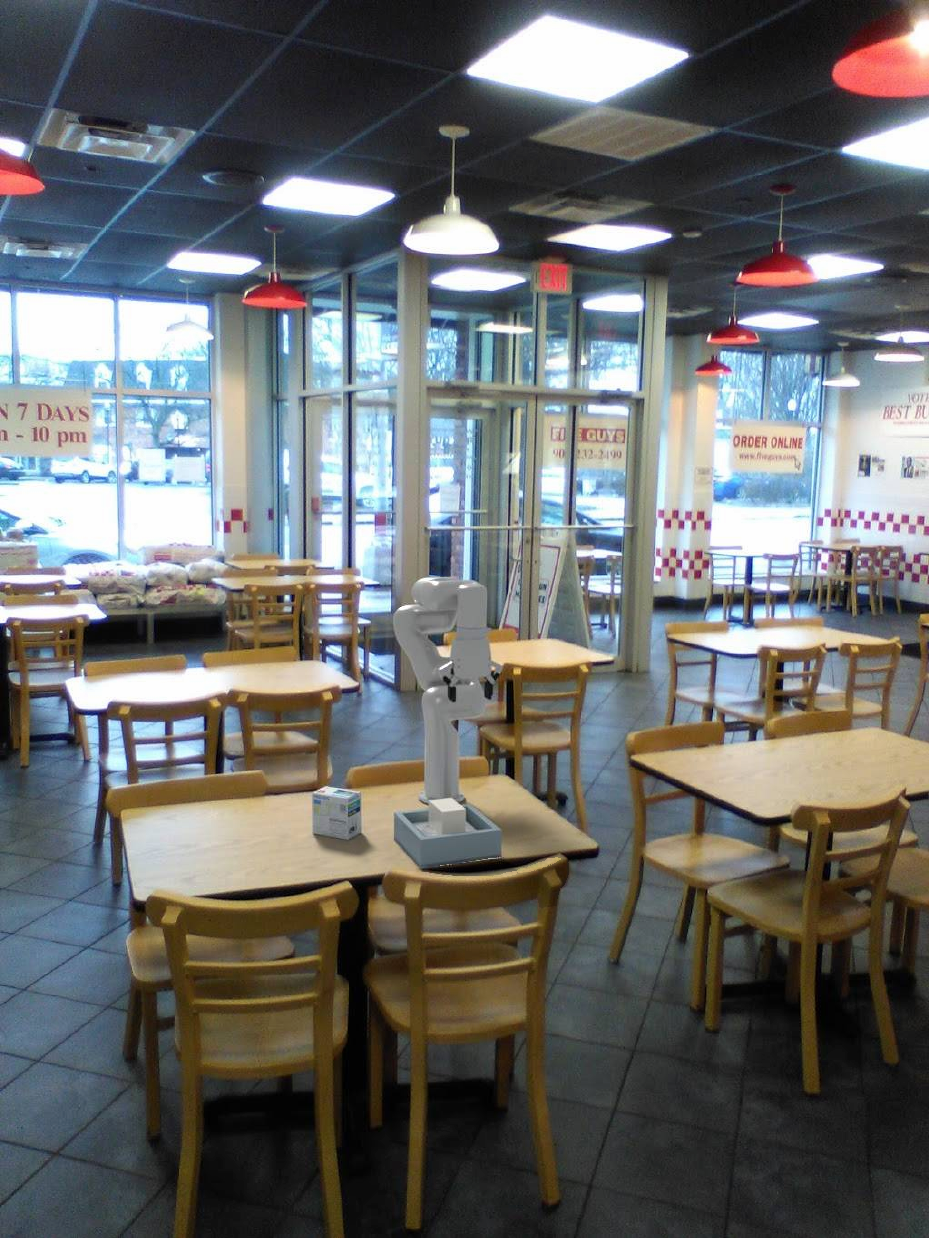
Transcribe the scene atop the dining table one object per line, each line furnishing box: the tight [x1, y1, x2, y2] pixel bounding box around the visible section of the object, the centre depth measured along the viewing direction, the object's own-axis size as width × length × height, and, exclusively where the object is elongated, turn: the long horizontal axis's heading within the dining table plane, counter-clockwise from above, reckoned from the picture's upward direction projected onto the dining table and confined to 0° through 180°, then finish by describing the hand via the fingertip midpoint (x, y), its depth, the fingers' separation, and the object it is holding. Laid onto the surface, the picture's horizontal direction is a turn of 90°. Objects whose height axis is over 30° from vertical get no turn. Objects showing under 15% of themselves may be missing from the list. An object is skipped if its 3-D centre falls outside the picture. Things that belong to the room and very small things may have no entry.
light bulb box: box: [311, 785, 362, 841], centre depth 267 cm, size 11×7×11 cm, turn 65°
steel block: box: [412, 821, 477, 837], centre depth 257 cm, size 13×13×4 cm
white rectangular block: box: [428, 798, 466, 835], centre depth 257 cm, size 9×6×6 cm, turn 23°
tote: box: [393, 803, 502, 870], centre depth 257 cm, size 20×20×7 cm
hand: (470, 699), depth 272 cm, fingers open, 9 cm apart
